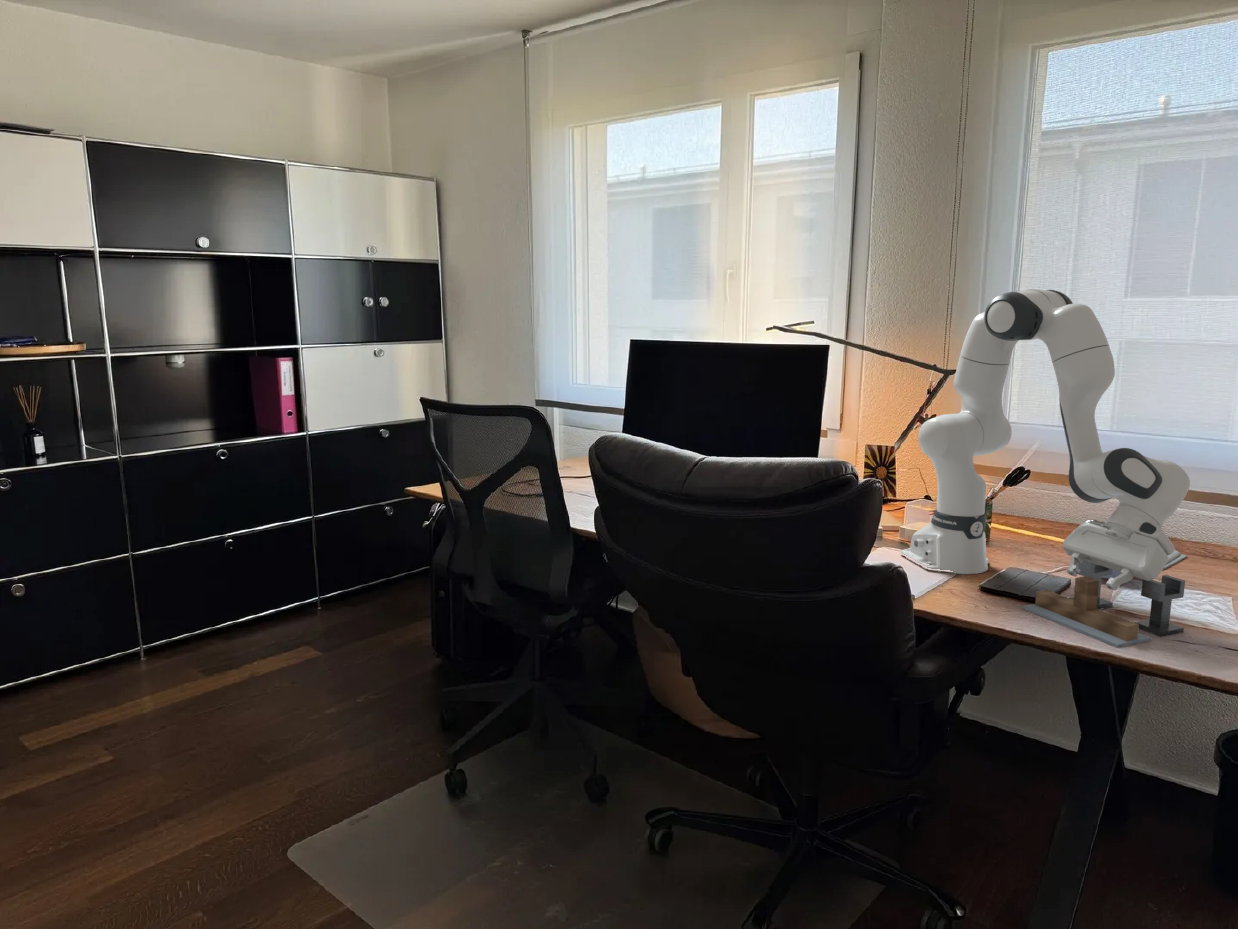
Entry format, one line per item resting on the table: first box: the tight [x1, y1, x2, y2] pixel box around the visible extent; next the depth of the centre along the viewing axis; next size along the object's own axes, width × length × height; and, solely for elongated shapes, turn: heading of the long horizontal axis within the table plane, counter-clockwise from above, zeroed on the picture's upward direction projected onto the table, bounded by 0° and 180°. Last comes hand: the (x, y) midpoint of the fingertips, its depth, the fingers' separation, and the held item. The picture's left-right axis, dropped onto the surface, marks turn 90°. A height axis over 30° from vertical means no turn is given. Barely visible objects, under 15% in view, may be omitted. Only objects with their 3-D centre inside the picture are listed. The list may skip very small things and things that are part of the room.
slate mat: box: [1022, 603, 1152, 648], centre depth 174 cm, size 23×9×1 cm, turn 20°
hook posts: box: [1068, 560, 1186, 638], centre depth 177 cm, size 22×7×10 cm, turn 20°
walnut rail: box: [1034, 576, 1139, 641], centre depth 173 cm, size 22×3×9 cm, turn 20°
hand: (1089, 580), depth 173 cm, fingers open, 8 cm apart
